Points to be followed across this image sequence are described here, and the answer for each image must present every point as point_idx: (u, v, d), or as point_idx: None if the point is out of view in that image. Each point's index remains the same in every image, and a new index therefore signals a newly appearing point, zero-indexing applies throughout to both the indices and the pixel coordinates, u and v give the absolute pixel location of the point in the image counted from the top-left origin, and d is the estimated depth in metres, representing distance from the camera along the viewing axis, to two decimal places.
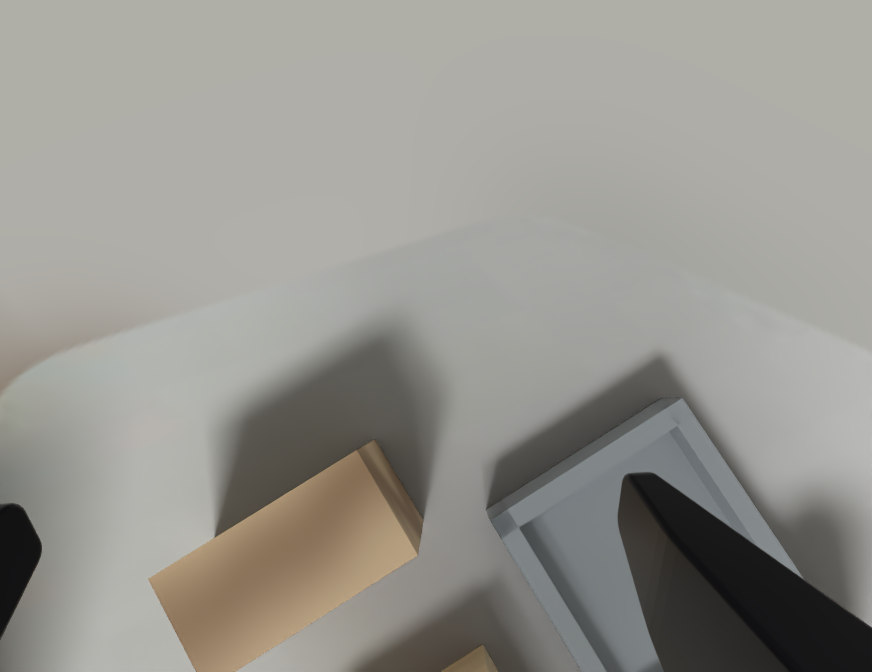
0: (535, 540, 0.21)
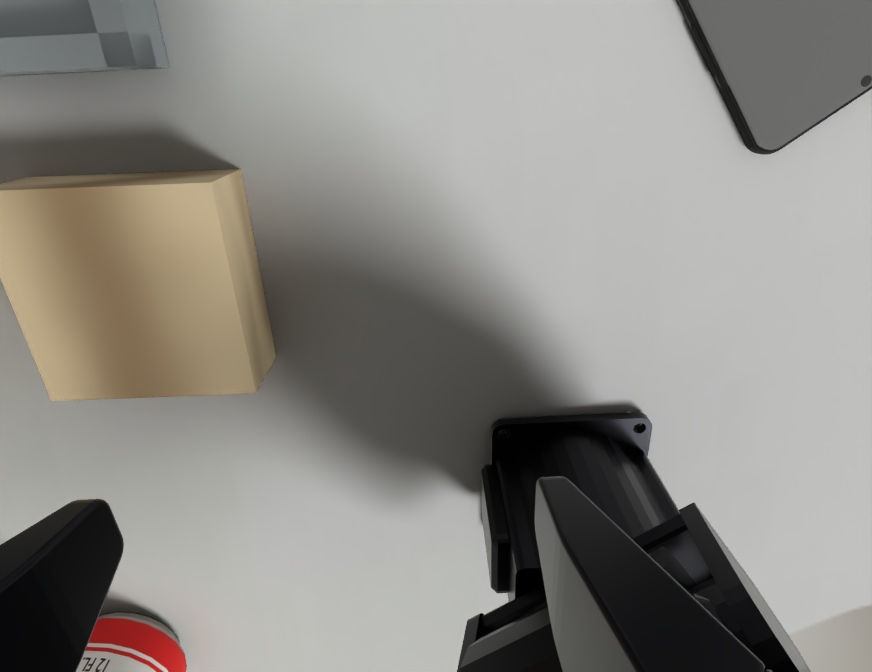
0: None
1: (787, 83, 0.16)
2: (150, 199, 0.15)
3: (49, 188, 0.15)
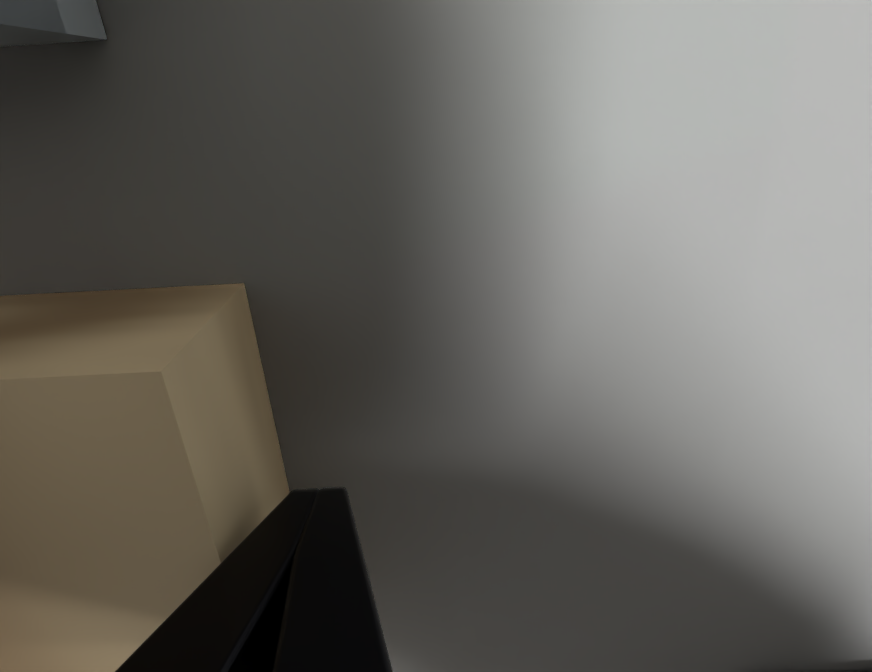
0: None
1: None
2: None
3: None
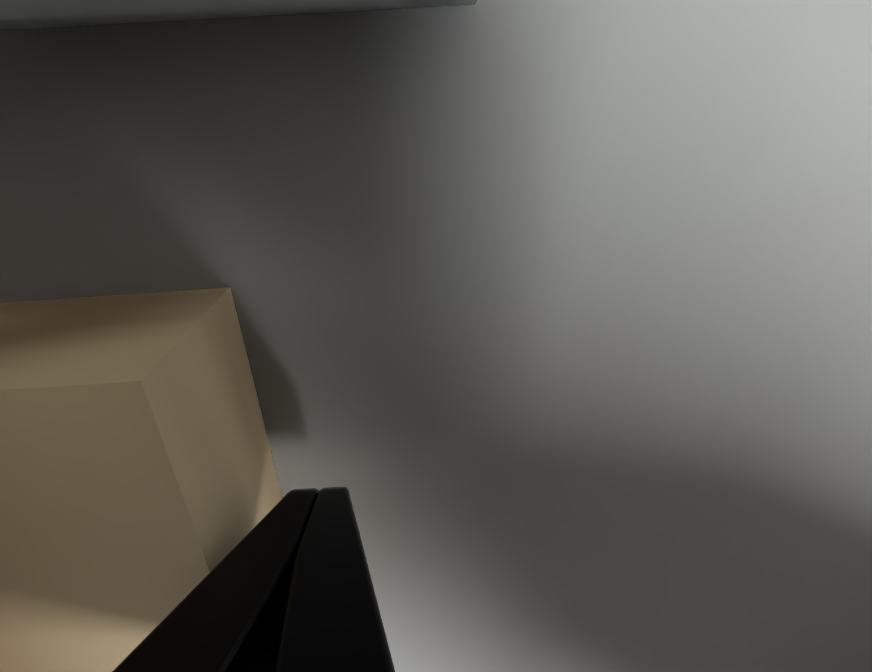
0: None
1: None
2: None
3: None
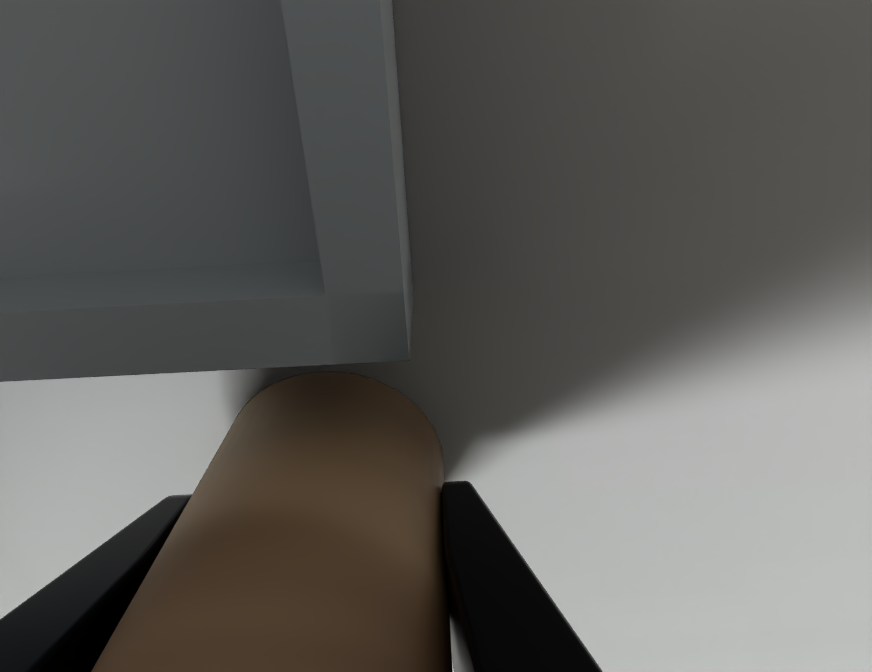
0: None
1: None
2: None
3: None
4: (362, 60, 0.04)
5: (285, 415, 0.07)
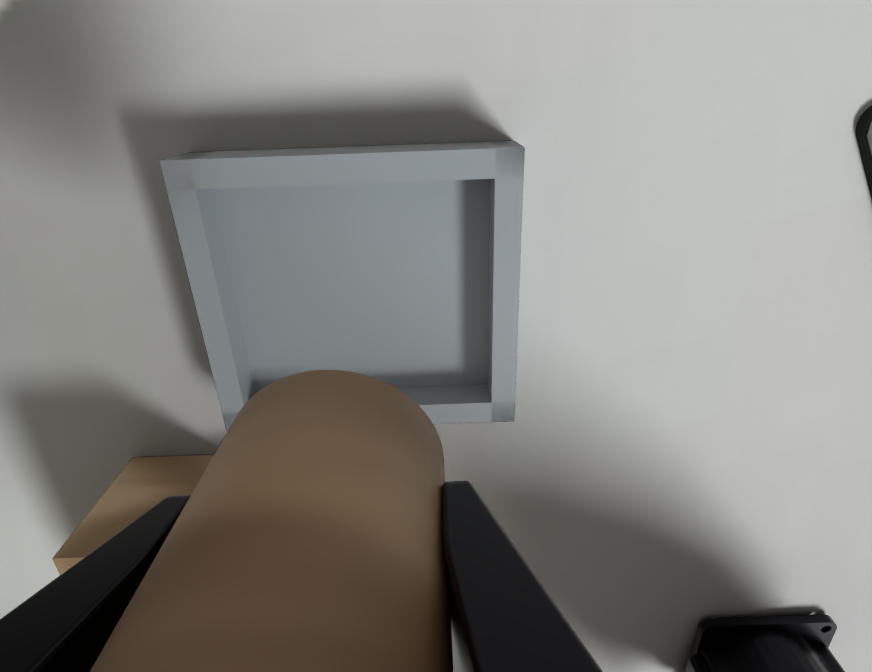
0: None
1: None
2: None
3: None
4: (419, 158, 0.14)
5: (285, 413, 0.07)
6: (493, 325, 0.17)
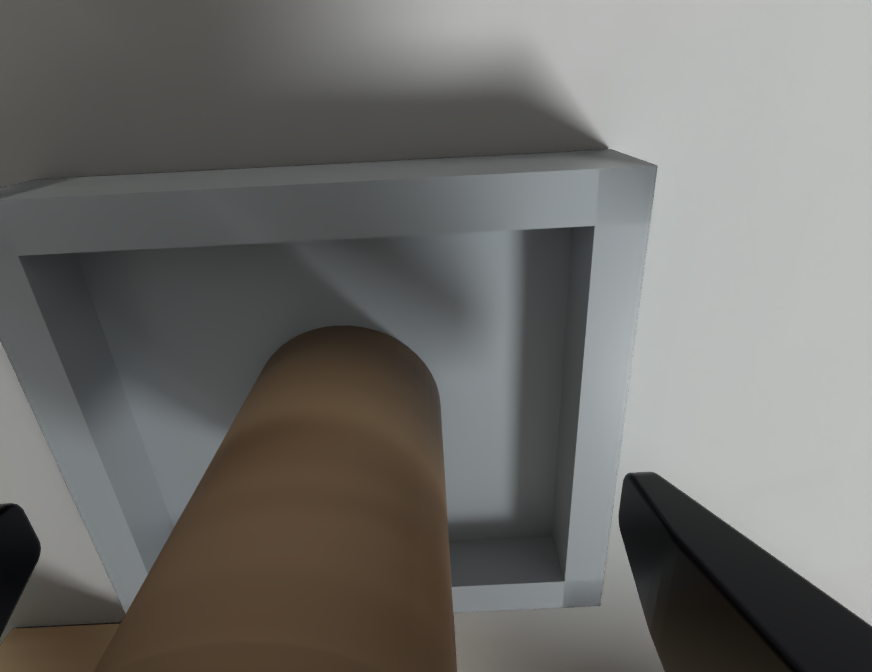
0: None
1: None
2: None
3: None
4: (448, 190, 0.07)
5: (310, 356, 0.09)
6: (575, 470, 0.10)
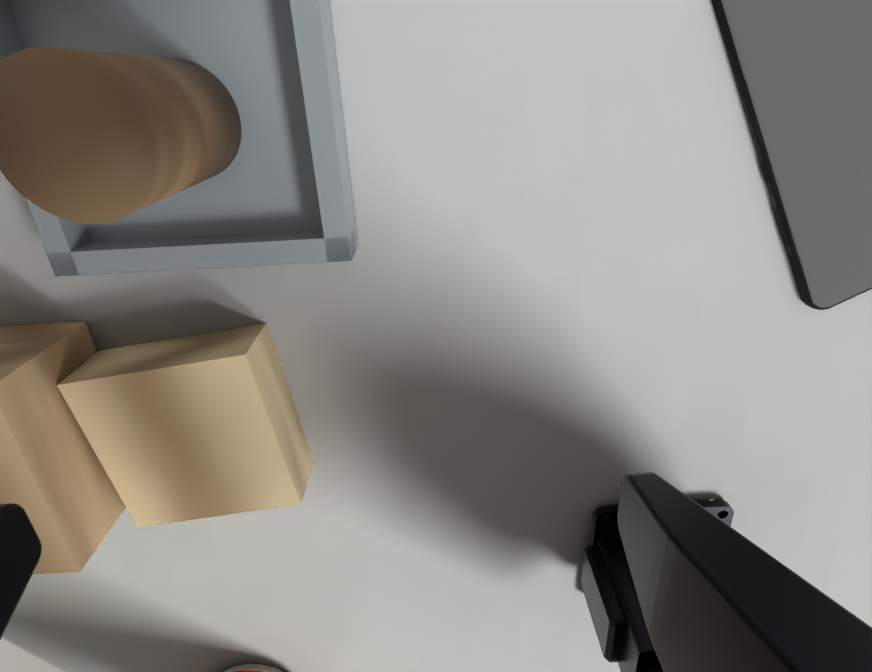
0: (119, 232, 0.18)
1: (844, 260, 0.19)
2: (199, 372, 0.19)
3: (120, 374, 0.19)
4: None
5: None
6: (311, 146, 0.16)
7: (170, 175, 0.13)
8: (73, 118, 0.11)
